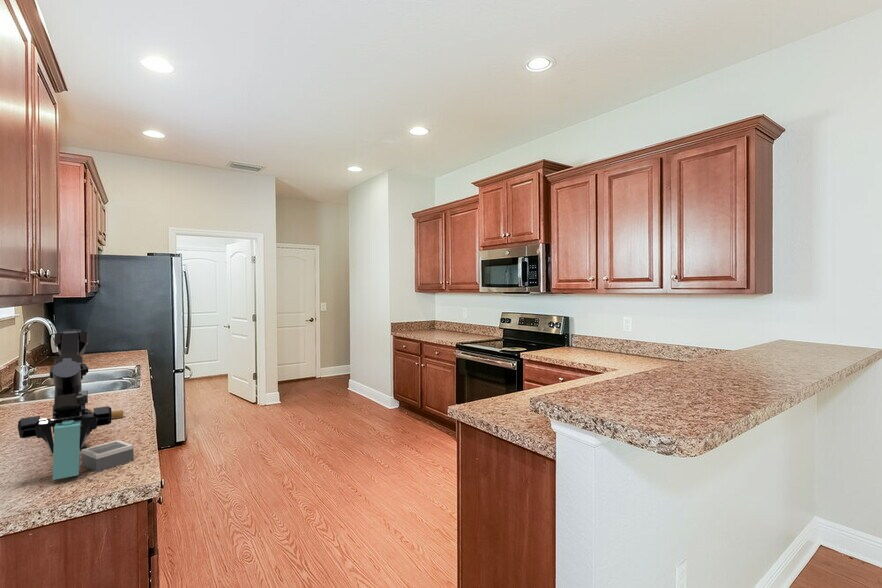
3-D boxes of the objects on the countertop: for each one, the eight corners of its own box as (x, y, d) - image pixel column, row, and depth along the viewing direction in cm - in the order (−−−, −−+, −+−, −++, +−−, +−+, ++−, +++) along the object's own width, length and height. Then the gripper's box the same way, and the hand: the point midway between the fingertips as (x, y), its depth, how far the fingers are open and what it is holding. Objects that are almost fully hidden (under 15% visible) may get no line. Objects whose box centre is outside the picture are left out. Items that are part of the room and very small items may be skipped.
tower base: (81, 465, 121) (81, 449, 121) (118, 454, 128) (118, 439, 128) (96, 472, 116) (96, 455, 116) (133, 460, 124) (133, 445, 124)
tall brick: (54, 473, 112) (55, 420, 112) (79, 468, 115) (80, 417, 115) (52, 479, 108) (54, 425, 108) (78, 475, 111) (80, 421, 111)
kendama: (119, 418, 171) (59, 422, 158) (122, 403, 171) (62, 405, 158) (122, 426, 165) (60, 430, 153) (125, 410, 165) (63, 413, 152)
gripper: (18, 387, 109) (12, 442, 100) (110, 377, 121) (112, 425, 112) (22, 411, 115) (17, 465, 107) (110, 399, 127) (112, 447, 118)
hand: (66, 449), depth 111 cm, fingers closed on tall brick, 5 cm apart
